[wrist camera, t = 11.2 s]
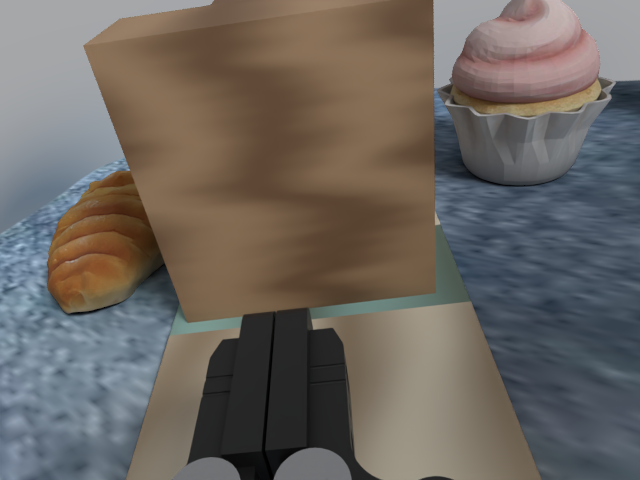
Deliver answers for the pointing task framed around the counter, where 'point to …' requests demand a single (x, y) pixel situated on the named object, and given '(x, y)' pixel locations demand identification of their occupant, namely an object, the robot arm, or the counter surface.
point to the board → (372, 388)
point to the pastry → (102, 247)
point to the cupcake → (525, 93)
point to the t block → (280, 148)
